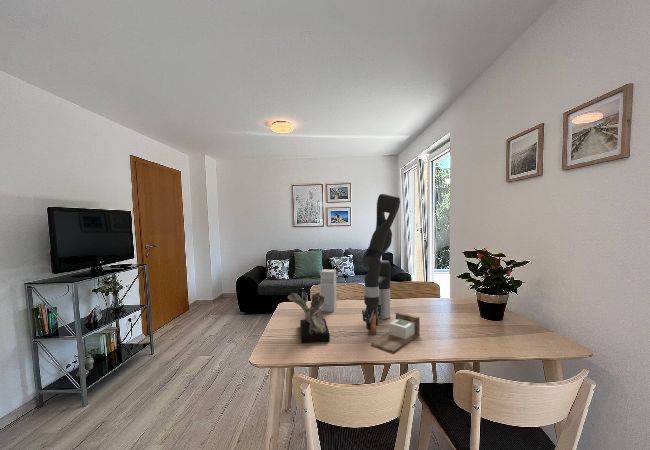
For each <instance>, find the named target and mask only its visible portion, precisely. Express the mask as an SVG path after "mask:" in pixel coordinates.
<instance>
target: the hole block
mask: <svg viewBox="0 0 650 450" xmlns="http://www.w3.org/2000/svg"><path fill="white" fill-rule="evenodd" d="M388 332H389V334H390V335H393V336H396V337H399V338H403V339H407V338H409V337H410V336H412V335H413V334H415V323H414V322H410V321H407V320H403V319H399V318H398V319H396V318H395V319H394V320H392V321H391V322H389V323H388Z"/></svg>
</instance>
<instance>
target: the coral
mask: <svg viewBox="0 0 650 450" xmlns="http://www.w3.org/2000/svg"><path fill="white" fill-rule="evenodd" d="M287 299H288V300H289V301H291V302H293V303H294V304H295V305H298V306H299V307H300V308H301V310H303V312H304V314H305V316H304V319H300V320H299V321H300V322H299V325H300V339H301V340H300V341H301V342H300V343H301V344H313V343H327V342H330V341H331V338H330V337H331V336H330V335H331V334H330V330H329V328H328V325H327V321H326V319H325V318H324V315H321V314H320V313H318V312H317V311H319V309H321V305H322V304H323V303H324V299H325V297H323V296H322V295H321V292H317V293H314V294H312V295H311V302H310V307H309V306H308V305H307V301H308V300H307V292H306V291H302V292H301V296H300V295H299V294H298V293H297V292H296V293H295V292H292V293H290V294H289V295H288V296H287ZM316 312H317V313H316Z"/></svg>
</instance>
